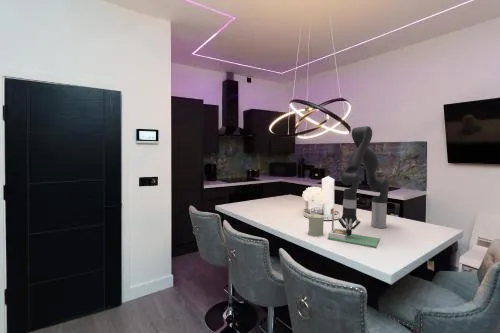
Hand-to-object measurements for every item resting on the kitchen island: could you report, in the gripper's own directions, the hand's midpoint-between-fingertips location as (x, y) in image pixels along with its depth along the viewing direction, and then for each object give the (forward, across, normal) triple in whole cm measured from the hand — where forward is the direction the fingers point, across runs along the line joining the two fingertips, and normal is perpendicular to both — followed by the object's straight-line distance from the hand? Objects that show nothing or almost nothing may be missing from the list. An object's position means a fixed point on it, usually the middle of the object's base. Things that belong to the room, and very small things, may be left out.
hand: (348, 235), depth 158 cm
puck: (+1, +5, 0) cm, 5 cm away
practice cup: (+1, +5, 0) cm, 5 cm away
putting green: (+2, -3, 0) cm, 3 cm away
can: (+2, +19, +2) cm, 19 cm away
